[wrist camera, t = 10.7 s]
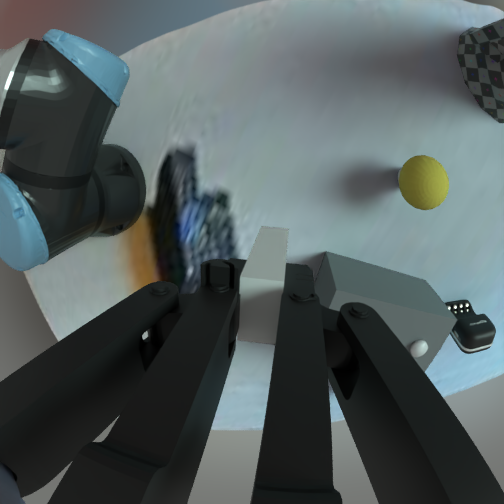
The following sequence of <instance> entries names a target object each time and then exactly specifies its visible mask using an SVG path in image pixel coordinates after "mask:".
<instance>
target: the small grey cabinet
mask: <svg viewBox="0 0 504 504" xmlns="http://www.w3.org/2000/svg"><path fill="white" fill-rule="evenodd" d="M314 289H315V294H317V295H318V297H319V299H320V304H321V305H323V306H325V307H327V308H329V309H332V310H336V311H340V308H341V306H342V305H344V304H345V303H350V302H360V303H364V304H366V305H368V306H370V307H372V308H373V309H374V310H375V311H376V312H377V313H378V314H379V315H380V317H381V318H382V319H383V320H384V321H385V323H386V324H387V325H388V326H389V328H390V329H391V330H392V331H393V333H394V334H395V335H396V336H397V338H398V339H399V340H400V341H401V343H402V344H403V345H404V347H405V348H406V349H407V350H408V352H409V353H410V354H411V356H412V357H413V358H414V359H415V361H416V362H417V363H418V365H419V366H420V367H421V369H422V370H423V371H424V372H425V371H426V369H427V368H428V366H429V365H430V363H431V362H432V360H433V359H434V357H435V356H436V354H437V353H438V351H439V350H440V349H441V347H442V345H443V343H444V342H445V340H446V338H447V337H448V335H449V333H450V332H451V330H452V328H453V327H454V325H455V323H456V321H457V319H456V317H455V316H454V315H453V313H452V312H451V311H450V310H449V308H448V307H447V306H446V305H445V303H444V302H443V301H442V300H441V298H440V297H439V296H438V295H437V293H436V292H435V291H434V290H433V289H432V287H431V286H430V285H429V284H428V283H427V281H426V280H423V279H419V278H416V277H413V276H409V275H406V274H403V273H399V272H396V271H393V270H389V269H386V268H382V267H379V266H376V265H372V264H369V263H365V262H362V261H358V260H355V259H351V258H348V257H344V256H341V255H337V254H334V253H330V252H327V251H326V253H325V256H324V259H323V262H322V265H321V268H320V270H319V273H318V276H317V279H316V282H315V284H314Z"/></svg>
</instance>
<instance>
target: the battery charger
mask: <svg viewBox="0 0 504 504" xmlns="http://www.w3.org/2000/svg"><path fill="white" fill-rule="evenodd" d="M445 305H446V306H447V307H448V308H449V310H450V311H451V312H452V313H453V315H454V316H455V317H456V319H457V321H456V323H455V325H454V327H453V328H452V330H451V332H450V334H451V336H452V338H453V339H454V341H455V342H456V344H457V345H458V347H459V348H460V350H461V351H462V352H464V353H467V354H471V353H475V352H479V351H483V350H486V349H488V348H490V347H491V345H492V343H493V339H494V336H495V333H496V329H495V326H494V325H493V323H492V322H491V321H490V319H489V318H488V317H487V316H486V315H485V314H479V315H476V314H475V312H474V311H473V309H472V306H471V304H470V302H469V301H468V300H461V301H454V302H448V303H445Z"/></svg>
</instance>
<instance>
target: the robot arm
mask: <svg viewBox="0 0 504 504" xmlns="http://www.w3.org/2000/svg"><path fill="white" fill-rule="evenodd" d="M42 39H43V41H38V40H34V39H29V38H27V39H25V40H24V41H22V42H21V43H19V44H18V45H16V46H14V47H13V48H11V49H8V50H4V49H0V149H6V151H5V157H4V162H3V167H2V171H1V173H0V257H1V259H2V260H3V261H4V262H5V263H6V264H7V265H9V266H10V267H11V268H13V269H15V270H18V271H26V270H29V269H31V268H33V267H35V266H37V265H39V264H45V263H46V262H47V261H48V260H50V259H51V258H53V257H55V256H56V255H58V254H60V253H61V252H63V251H65V250H67V249H68V248H70V247H72V246H74V245H75V244H77V243H79V242H81V241H82V240H84V239H86V238H88V237H108V236H114V235H117V234H119V233H121V232H123V231H125V230H127V229H128V228H130V227H131V226H132V225H133V224H134V223H135V222H136V221H137V219H138V218H139V216H140V214H141V212H142V210H143V207H144V203H145V197H146V185H145V178H144V175H143V171H142V169H141V167H140V165H139V163H138V161H137V160H136V158H135V157H134V156H133V155H132V154H131V153H130V152H129V151H128V150H126V149H125V148H123V147H121V146H118V145H114V144H104V145H102V142H103V139H104V137H105V134H106V132H107V129H108V127H109V125H110V122H111V120H112V118H113V115H114V113H115V111H116V109H117V107H119V105H120V99H121V96H122V94H123V91H124V89H125V86H126V84H127V82H128V79H129V68H128V66H127V64H126V63H125V62H124V61H123V60H122V59H120V58H119V57H117V56H115V55H114V54H112V53H110V52H109V51H107V50H105V49H103V48H101V47H99V46H97V45H96V44H94V43H91V42H89V41H87V40H85V39H82V38H80V37H77V36H75V35H70V34H68V33H65V32H63V31H60V30H56V29H52V30H49V31H48V32H47V33H46V34H45V35H44V36H43V38H42ZM288 230H289V229H287V228H276V227H266V226H261V228H260V231H259V233H258V235H257V238H256V240H255V243H254V245H253V247H252V250H251V252H250V254H249V257H248V259H247V260H243V259H233V258H230V259H229V260H225V259H213V260H208V261H205V262H203V263H202V264H201V286H200V288H199V290H198V291H197V293H193V294H178V287H177V286H176V285H175V284H173V283H170V282H165V281H162V282H161V281H157V282H154V283H150V284H148V285H146V286H144V287H143V288H141V289H139V290H138V291H136V292H135V293H133V294H132V295H130V296H128V297H127V298H125V299H124V300H122V301H120V302H119V303H117V304H116V305H114V306H113V307H111V308H110V309H108V310H106V311H105V312H103V313H102V314H100V315H99V316H97V317H96V318H94V319H92V320H91V321H89V322H88V323H86V324H85V325H83V326H82V327H80V328H79V329H77V330H76V331H74V332H73V333H71V334H70V335H68V336H67V337H65V338H64V339H62V340H61V341H59V342H58V343H56V344H55V345H53V346H52V347H50V348H49V349H47V350H46V351H44V352H43V353H41V354H40V355H38V356H37V357H35V358H34V359H33V360H31V361H30V362H28V363H27V364H25V365H24V366H22V367H21V368H20V369H18V370H17V371H15V372H14V373H12V374H11V375H9V376H8V377H7V378H5V379H4V380H2V381H1V382H0V504H25V502H24V501H23V499H22V497H24V496H27V495H29V494H32V493H33V492H35V491H37V490H39V489H40V488H42V487H44V486H45V485H46V484H47V483H49V482H50V481H51V480H52V479H53V478H55V477H56V476H57V475H58V474H59V473H60V472H61V471H62V470H63V469H64V468H65V467H66V466H67V465H68V464H70V462H72V461H73V462H72V463H71V465H70V466H69V468H68V470H67V471H66V473H65V475H64V476H63V478H62V480H61V481H60V483H59V485H58V487H57V488H56V490H55V492H54V493H53V495H52V497H51V499H50V500H49V502H48V504H187V502H188V499H189V496H190V492H191V490H192V487H193V483H194V480H195V477H196V474H197V471H198V468H199V465H200V461H201V458H202V455H203V452H204V449H205V446H206V442H207V439H208V436H209V433H210V430H211V426H212V423H213V420H214V417H215V414H216V410H217V407H218V404H219V401H220V397H221V394H222V391H223V388H224V384H225V381H226V378H227V375H228V371H229V368H230V365H231V361H232V358H233V355H234V351H235V347H236V336H237V332H238V340H241V341H248V342H256V343H264V344H273V345H275V351H274V358H273V366H272V373H271V381H270V388H269V395H268V401H267V408H266V415H265V421H264V428H263V434H262V440H261V446H260V452H259V458H258V464H257V470H256V475H255V482H254V487H253V492H252V497H251V503H250V504H342V498H341V495H340V493H339V492H338V491H337V490H335V489H334V486H333V467H332V466H333V465H332V435H331V416H330V400H329V386H328V379H329V381H330V384H331V386H332V389H333V391H334V393H335V396H336V398H337V400H338V403H339V405H340V408H341V410H342V413H343V415H344V417H345V420H346V422H347V425H348V427H349V430H350V432H351V434H352V437H353V439H354V442H355V444H356V447H357V449H358V451H359V454H360V457H361V459H362V462H363V464H364V467H365V469H366V472H367V474H368V477H369V479H370V482H371V484H372V487H373V490H374V492H375V495H376V497H377V500H378V502H379V504H504V492H503V491H502V489H501V487H500V485H499V483H498V482H497V480H496V478H495V477H494V475H493V473H492V472H491V470H490V468H489V466H488V465H487V463H486V462H485V460H484V458H483V457H482V455H481V454H480V452H479V450H478V449H477V447H476V446H475V444H474V443H473V441H472V440H471V438H470V436H469V435H468V433H467V432H466V430H465V429H464V427H463V426H462V424H461V423H460V421H459V420H458V419H457V417H456V416H455V414H454V413H453V411H452V410H451V409H450V407H449V406H448V404H447V403H446V401H445V400H444V399H443V397H442V396H441V394H440V393H439V392H438V390H437V389H436V388H435V386H434V385H433V383H432V382H431V381H430V379H429V378H428V377H427V375H426V374H425V373H424V371H423V370H422V369H421V367H420V366H419V365H418V363H417V362H416V361H415V359H414V358H413V357H412V356H411V354H410V353H409V352H408V350H407V349H406V348H405V347H404V345H403V344H402V343H401V341H400V340H399V339H398V338H397V336H396V335H395V334H394V333H393V331H392V330H391V329H390V328H389V326H388V325H387V324H386V323H385V321H384V320H383V319H382V318H381V317H380V315H379V314H378V313H377V312H376V311H375V310H374V309H373V308H372V307H370V306H368V305H366V304H364V303H360V302H350V303H345V304H344V305H342V306H341V308H340V311H336V310H332V309H329V308H327V307H325V306H323V305H321V304H320V299H319V297H318V295H317V294H315V289H314V281H313V273H312V270H311V269H310V268H309V267H308V266H307V265H299V264H289V263H286V256H287V243H288ZM146 331H147V332H148V337H147V338H146V339H144V340H143V339H142V335H143V334H144V332H146ZM119 415H120V416H119ZM118 416H119V417H118ZM117 417H118V419H117V421H116V422H115V424H114V426H113V427H112V429H111V431H110V432H109V434H108V436H107V437H106V438H105V440H104V441H102V442H93V441H94V440H95V438H97V437H98V436H99V435H100V434H101V433H102V432H103V431H104V430H105V429H106V428H107V427H108V426H109V425H110V424H111V423H112V422H113V421H114V420H115V419H116V418H117Z"/></svg>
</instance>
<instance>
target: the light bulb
mask: <svg viewBox="0 0 504 504" xmlns="http://www.w3.org/2000/svg"><path fill="white" fill-rule="evenodd" d="M398 182H399V188H400V191H401V193H402V196H403V197H404V199H405V200H406V201H407V202H408V203H409V204H410V205H412V206H413V207H415V208H418V209H422V210H429V209H433V208H435V207H437V206H439V205H440V204H441V203H442V202H443V201H444V200H445V198H446V196H447V194H448V189H449V180H448V176H447V173H446V171H445V169H444V168H443V166H442V165H441V164H440V163H439V162H438V161H437V160H435V159H434V158H432V157H429V156H425V155H421V156H414V157H412V158H410V159H409V160H408V161H407V162H406V163H405V164H404V165H403V167H402V168H401V169H400V170H399V172H398Z"/></svg>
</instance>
